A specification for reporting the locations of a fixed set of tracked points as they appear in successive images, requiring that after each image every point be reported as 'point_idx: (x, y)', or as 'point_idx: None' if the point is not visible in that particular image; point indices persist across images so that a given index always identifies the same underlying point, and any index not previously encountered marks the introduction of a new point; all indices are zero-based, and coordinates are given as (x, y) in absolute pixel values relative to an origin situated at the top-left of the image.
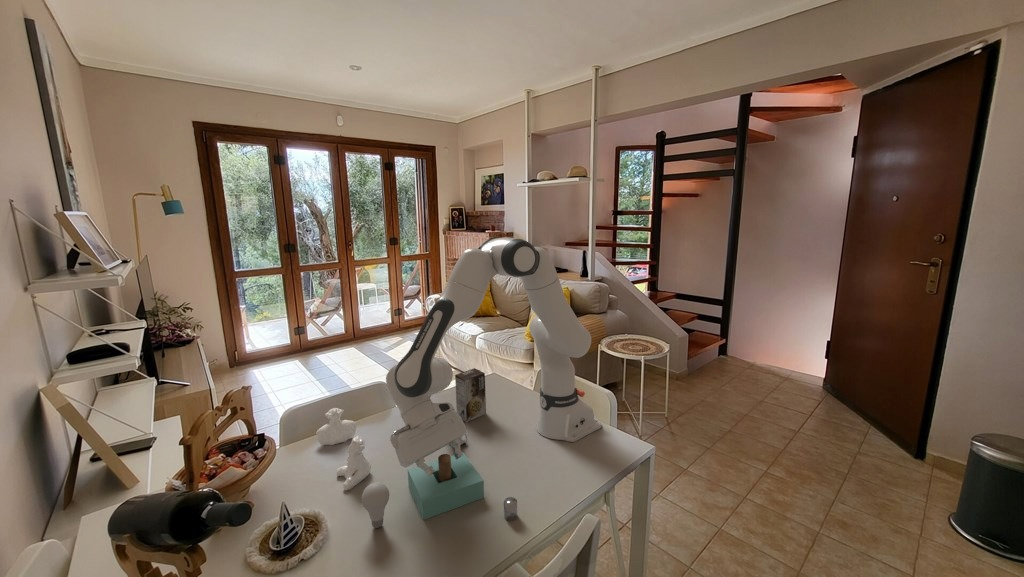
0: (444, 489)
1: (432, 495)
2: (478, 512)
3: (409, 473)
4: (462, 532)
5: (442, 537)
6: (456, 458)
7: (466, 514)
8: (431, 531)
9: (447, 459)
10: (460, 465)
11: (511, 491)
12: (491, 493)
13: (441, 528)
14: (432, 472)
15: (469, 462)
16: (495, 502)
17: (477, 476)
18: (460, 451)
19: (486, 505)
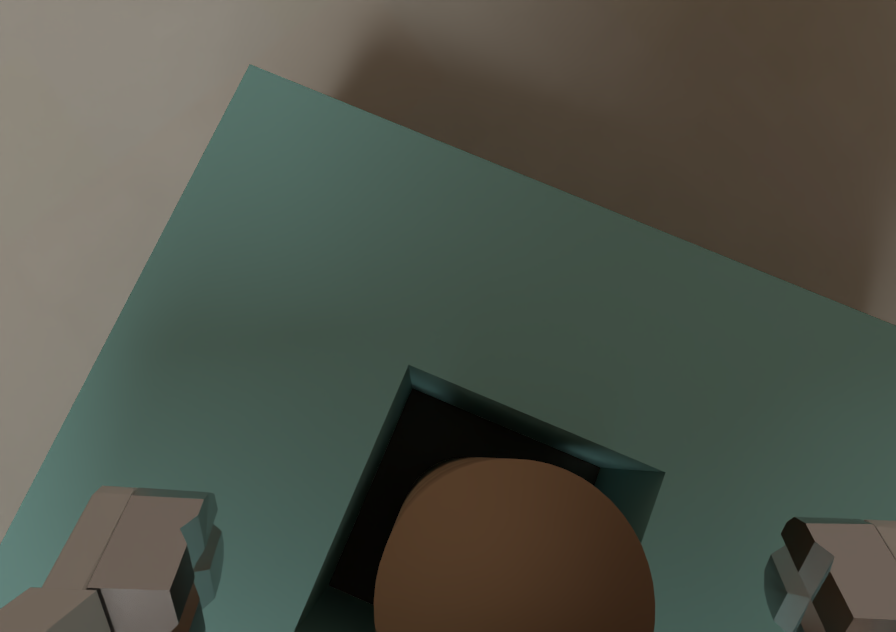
0: (682, 320)
1: (855, 350)
2: (463, 81)
3: None
4: (702, 37)
5: (843, 119)
6: (218, 557)
7: (547, 143)
8: (870, 232)
9: (518, 490)
10: None
11: (71, 24)
12: (203, 147)
13: (793, 193)
14: (844, 520)
15: (51, 479)
16: (277, 46)
17: (237, 170)
18: (82, 545)
19: (356, 82)
